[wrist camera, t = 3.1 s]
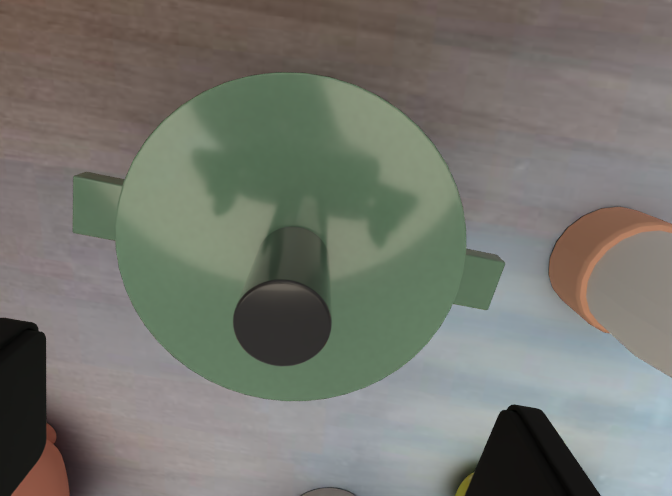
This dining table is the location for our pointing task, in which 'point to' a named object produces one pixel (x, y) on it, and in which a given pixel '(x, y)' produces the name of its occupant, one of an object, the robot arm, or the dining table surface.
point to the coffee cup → (328, 492)
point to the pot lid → (290, 236)
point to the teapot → (46, 472)
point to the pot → (99, 221)
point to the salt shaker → (620, 279)
